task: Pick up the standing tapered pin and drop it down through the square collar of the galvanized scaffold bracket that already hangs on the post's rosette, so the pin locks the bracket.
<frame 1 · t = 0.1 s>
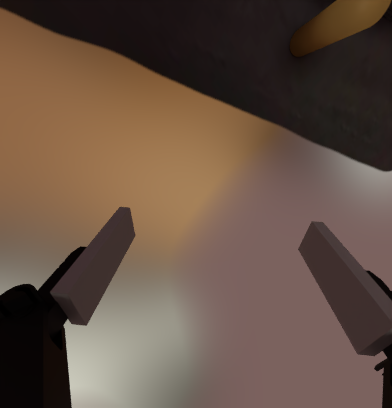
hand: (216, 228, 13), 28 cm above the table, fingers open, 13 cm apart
tapered pin: (301, 42, 28), on the table
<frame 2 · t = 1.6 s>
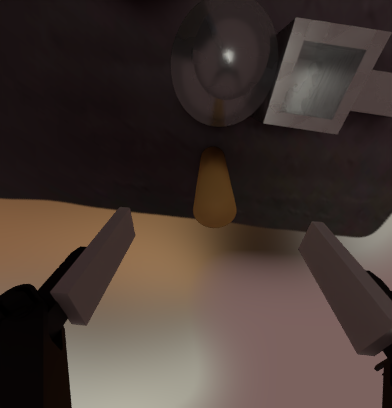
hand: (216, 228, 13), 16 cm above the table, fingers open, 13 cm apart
rosette bracket: (284, 86, 21), on the table
tapered pin: (212, 158, 26), on the table
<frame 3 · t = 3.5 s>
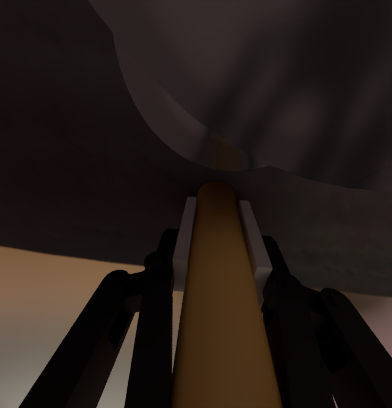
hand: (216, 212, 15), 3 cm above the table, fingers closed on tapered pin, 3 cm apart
rosette bracket: (345, 86, 12), on the table
tapered pin: (215, 197, 17), on the table, touching gripper
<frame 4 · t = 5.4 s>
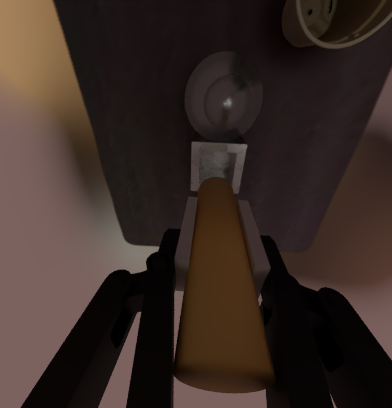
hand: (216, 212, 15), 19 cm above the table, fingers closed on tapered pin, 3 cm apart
rosette bracket: (215, 153, 31), on the table
flower pot: (307, 13, 21), on the table
tapered pin: (215, 192, 18), point 15 cm above the table, touching gripper
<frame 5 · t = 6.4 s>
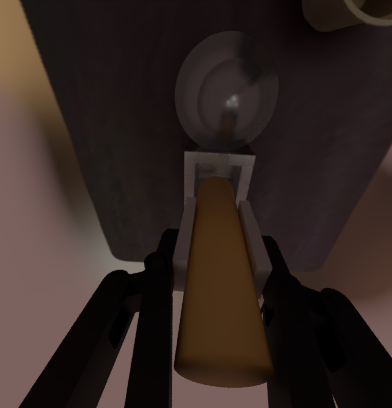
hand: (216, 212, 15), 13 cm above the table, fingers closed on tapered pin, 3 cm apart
rosette bracket: (215, 161, 26), on the table
tapered pin: (215, 192, 18), point 9 cm above the table, touching gripper
when the fingers open (9 cm above the table, at t = 7.3 s): tapered pin drops 3 cm, resting on rosette bracket.
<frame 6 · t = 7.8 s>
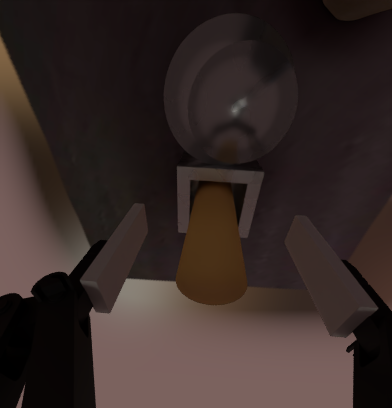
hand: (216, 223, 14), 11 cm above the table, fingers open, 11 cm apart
rosette bracket: (214, 172, 23), on the table
tapered pin: (214, 179, 21), point 2 cm above the table, touching rosette bracket
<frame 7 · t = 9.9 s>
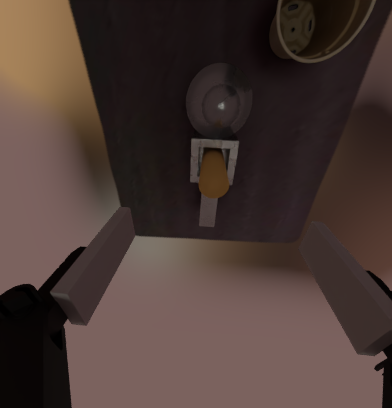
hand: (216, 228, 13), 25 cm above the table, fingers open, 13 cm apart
rosette bracket: (212, 149, 34), on the table
flower pot: (291, 30, 25), on the table
tapered pin: (212, 152, 33), point 2 cm above the table, touching rosette bracket
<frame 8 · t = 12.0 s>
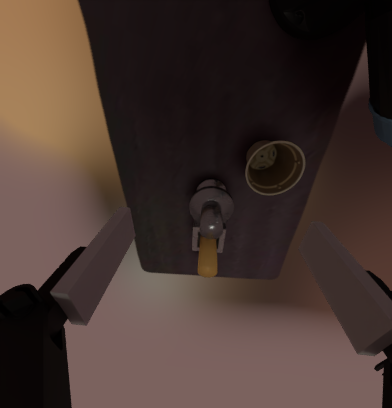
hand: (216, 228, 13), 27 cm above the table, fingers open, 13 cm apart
rosette bracket: (208, 219, 46), on the table
flower pot: (261, 155, 36), on the table
tapered pin: (208, 223, 44), point 2 cm above the table, touching rosette bracket
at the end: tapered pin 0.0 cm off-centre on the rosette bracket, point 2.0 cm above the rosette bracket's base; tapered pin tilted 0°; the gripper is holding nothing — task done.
